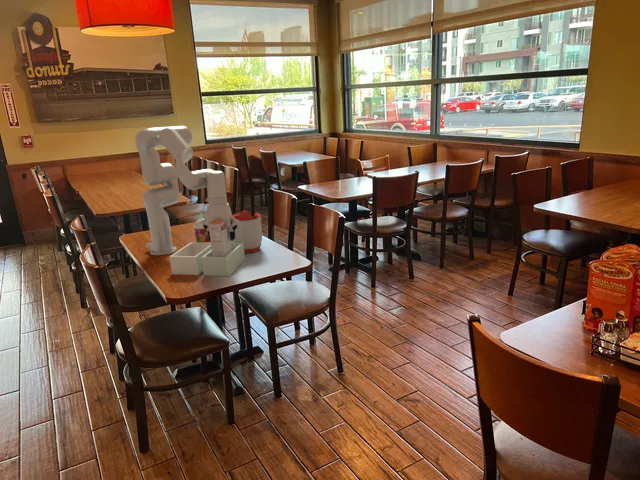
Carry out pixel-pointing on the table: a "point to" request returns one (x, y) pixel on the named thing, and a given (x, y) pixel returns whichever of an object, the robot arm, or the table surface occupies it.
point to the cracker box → (220, 239)
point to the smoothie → (201, 232)
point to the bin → (223, 262)
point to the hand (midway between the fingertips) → (222, 239)
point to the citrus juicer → (248, 231)
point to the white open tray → (189, 258)
